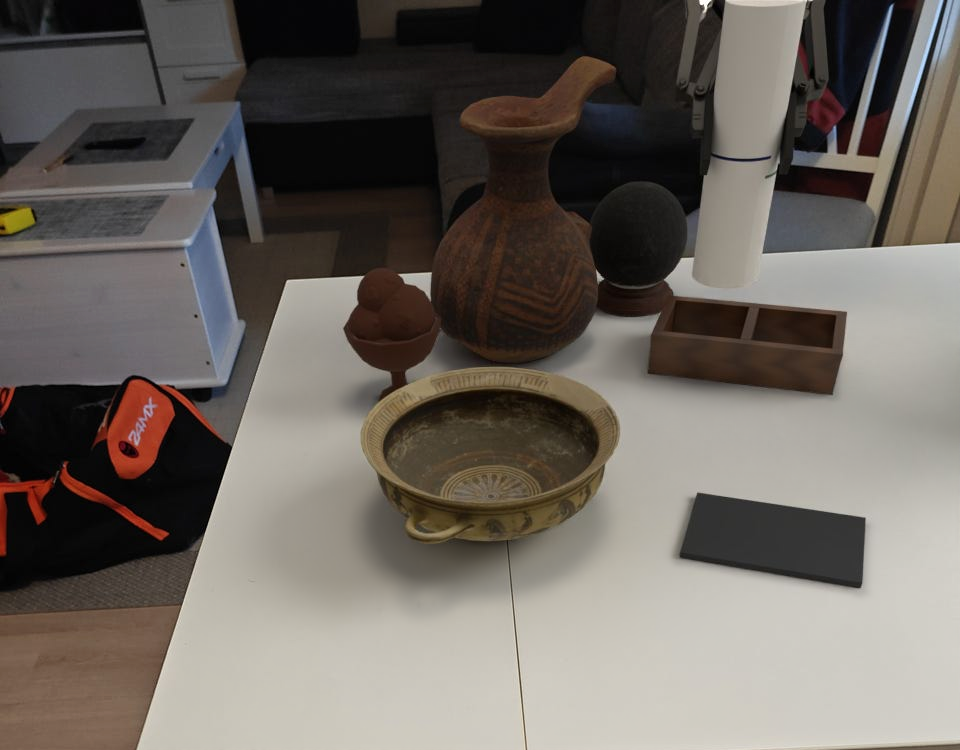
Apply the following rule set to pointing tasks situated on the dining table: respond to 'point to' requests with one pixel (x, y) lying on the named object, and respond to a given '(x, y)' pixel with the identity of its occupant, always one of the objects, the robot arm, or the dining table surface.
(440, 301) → the jug
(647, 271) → the black ball on stand
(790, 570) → the mat
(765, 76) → the cylindrical container
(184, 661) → the dining table surface
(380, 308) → the ice cream bowl
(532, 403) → the ceramic bowl
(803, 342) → the wooden compartment box
